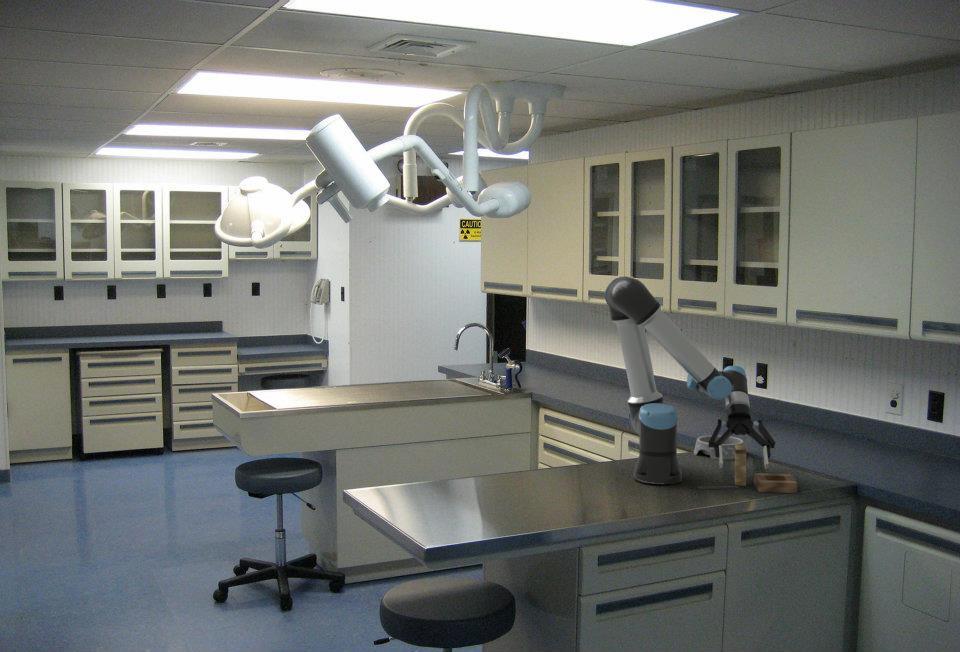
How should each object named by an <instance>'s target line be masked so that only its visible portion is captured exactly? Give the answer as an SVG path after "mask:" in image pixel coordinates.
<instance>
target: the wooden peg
mask: <svg viewBox="0 0 960 652" xmlns="http://www.w3.org/2000/svg"><path fill="white" fill-rule="evenodd" d="M734 484H735V485H734V486H743V487H744V486H746V485H747V446H746V445H745V444H744V445H735V459H734Z"/></svg>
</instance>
